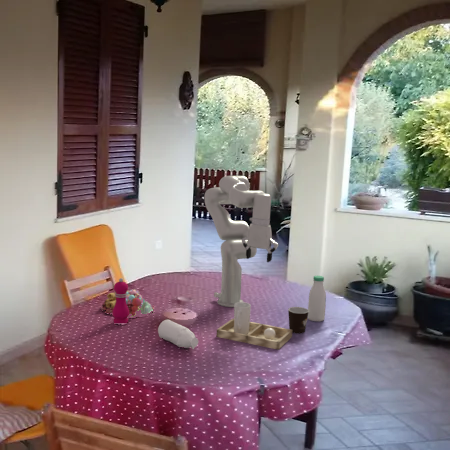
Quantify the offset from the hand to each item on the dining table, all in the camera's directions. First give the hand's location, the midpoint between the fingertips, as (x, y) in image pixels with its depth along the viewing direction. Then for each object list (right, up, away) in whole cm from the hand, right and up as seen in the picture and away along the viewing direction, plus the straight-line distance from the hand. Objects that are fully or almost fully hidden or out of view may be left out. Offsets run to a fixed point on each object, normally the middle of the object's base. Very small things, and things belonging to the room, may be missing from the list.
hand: (258, 259), depth 260 cm
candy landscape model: (-59, -24, +13) cm, 65 cm away
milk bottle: (+27, -28, +9) cm, 40 cm away
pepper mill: (-60, -27, -5) cm, 66 cm away
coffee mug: (+17, -31, -8) cm, 36 cm away
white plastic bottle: (-33, -32, -26) cm, 53 cm away
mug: (-9, -30, -15) cm, 34 cm away
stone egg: (+3, -31, -20) cm, 37 cm away
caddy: (-3, -31, -17) cm, 36 cm away
